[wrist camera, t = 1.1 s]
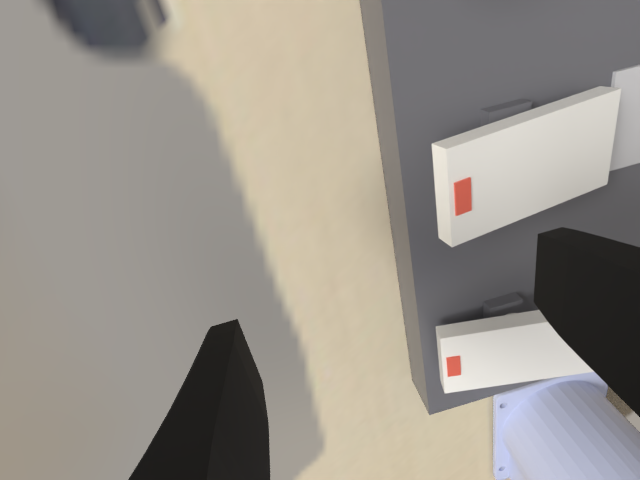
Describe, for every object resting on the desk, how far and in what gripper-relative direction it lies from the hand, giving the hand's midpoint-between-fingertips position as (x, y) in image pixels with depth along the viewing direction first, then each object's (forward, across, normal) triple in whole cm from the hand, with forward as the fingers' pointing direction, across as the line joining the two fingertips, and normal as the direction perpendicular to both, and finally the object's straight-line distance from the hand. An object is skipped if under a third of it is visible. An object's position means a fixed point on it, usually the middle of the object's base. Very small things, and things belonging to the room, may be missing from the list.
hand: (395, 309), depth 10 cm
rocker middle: (+6, -7, 0) cm, 9 cm away
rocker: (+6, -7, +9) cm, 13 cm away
